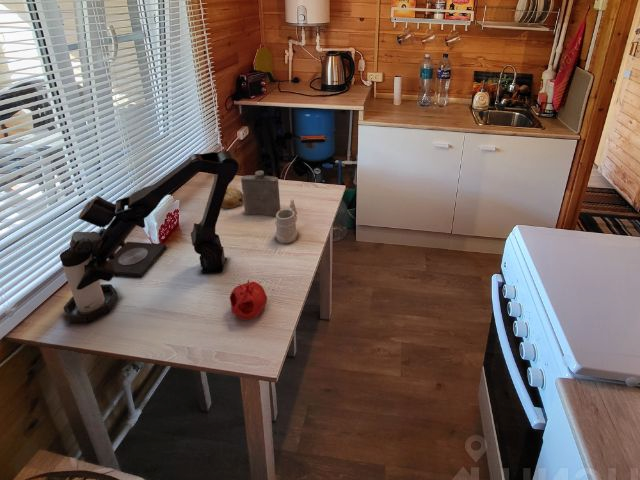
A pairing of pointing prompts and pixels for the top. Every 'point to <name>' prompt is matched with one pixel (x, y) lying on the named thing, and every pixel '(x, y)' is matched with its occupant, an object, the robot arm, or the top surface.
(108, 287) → the holder ring
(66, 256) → the travel mug
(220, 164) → the robot arm
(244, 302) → the pomegranate
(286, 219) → the mug
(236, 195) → the bread roll
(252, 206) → the flask
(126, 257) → the hob plate
